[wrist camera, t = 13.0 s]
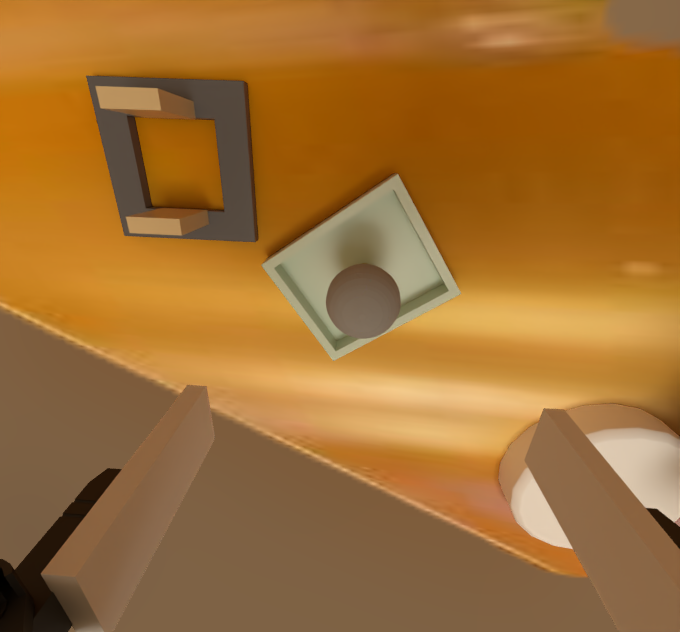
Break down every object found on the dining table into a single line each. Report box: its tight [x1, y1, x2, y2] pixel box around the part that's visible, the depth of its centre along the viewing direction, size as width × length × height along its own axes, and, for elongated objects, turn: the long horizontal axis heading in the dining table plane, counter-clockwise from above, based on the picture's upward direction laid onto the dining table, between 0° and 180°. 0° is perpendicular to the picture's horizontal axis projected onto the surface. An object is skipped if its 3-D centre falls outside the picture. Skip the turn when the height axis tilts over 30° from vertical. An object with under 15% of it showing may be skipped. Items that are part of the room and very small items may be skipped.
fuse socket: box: [86, 76, 258, 242], centre depth 25 cm, size 12×12×6 cm
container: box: [498, 404, 680, 549], centre depth 39 cm, size 20×20×5 cm
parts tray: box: [261, 173, 461, 361], centre depth 30 cm, size 14×12×2 cm
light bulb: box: [326, 263, 401, 339], centre depth 26 cm, size 6×6×10 cm
